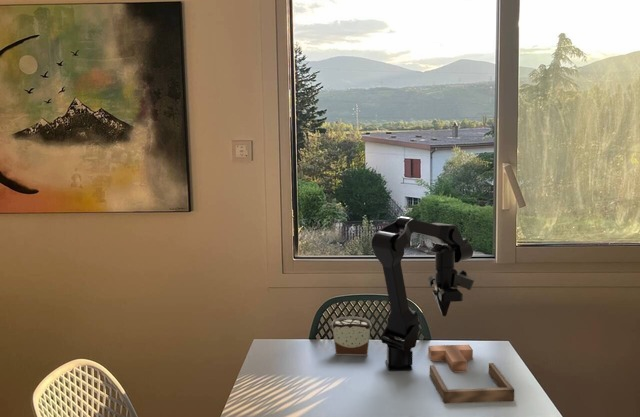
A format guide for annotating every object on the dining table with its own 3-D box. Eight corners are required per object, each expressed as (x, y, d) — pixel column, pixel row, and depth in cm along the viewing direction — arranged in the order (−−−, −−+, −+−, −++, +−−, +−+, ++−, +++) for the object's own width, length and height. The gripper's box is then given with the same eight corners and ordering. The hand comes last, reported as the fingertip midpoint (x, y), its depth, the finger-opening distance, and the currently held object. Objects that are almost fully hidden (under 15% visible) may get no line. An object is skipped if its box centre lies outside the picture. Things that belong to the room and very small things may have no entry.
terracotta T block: (437, 372, 168) (437, 362, 168) (428, 355, 180) (428, 345, 180) (480, 371, 169) (481, 360, 168) (468, 354, 181) (468, 344, 180)
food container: (372, 347, 187) (372, 316, 185) (372, 355, 181) (372, 323, 179) (332, 346, 188) (332, 315, 186) (330, 354, 182) (330, 322, 180)
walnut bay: (444, 403, 150) (444, 391, 150) (429, 375, 166) (429, 365, 166) (514, 400, 151) (514, 389, 151) (492, 373, 167) (493, 363, 167)
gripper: (481, 272, 174) (479, 325, 176) (463, 257, 192) (462, 305, 194) (442, 273, 173) (441, 326, 176) (427, 258, 192) (427, 306, 194)
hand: (444, 315), depth 185 cm, fingers closed
